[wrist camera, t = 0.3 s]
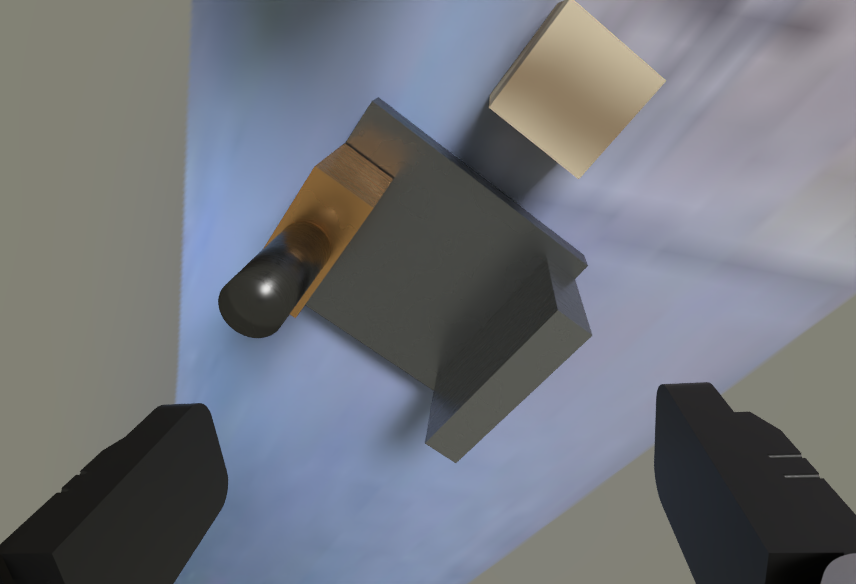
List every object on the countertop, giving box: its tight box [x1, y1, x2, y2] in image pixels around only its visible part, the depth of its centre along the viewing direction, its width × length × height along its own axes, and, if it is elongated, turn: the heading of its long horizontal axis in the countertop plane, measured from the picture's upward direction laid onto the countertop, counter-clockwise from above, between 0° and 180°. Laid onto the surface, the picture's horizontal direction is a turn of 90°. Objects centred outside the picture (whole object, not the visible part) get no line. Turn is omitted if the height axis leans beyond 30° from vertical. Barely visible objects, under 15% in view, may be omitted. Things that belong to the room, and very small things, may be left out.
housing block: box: [489, 0, 666, 179], centre depth 24 cm, size 5×5×5 cm
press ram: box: [218, 143, 393, 338], centre depth 24 cm, size 7×3×11 cm, turn 144°
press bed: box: [305, 97, 592, 463], centre depth 28 cm, size 12×14×8 cm
